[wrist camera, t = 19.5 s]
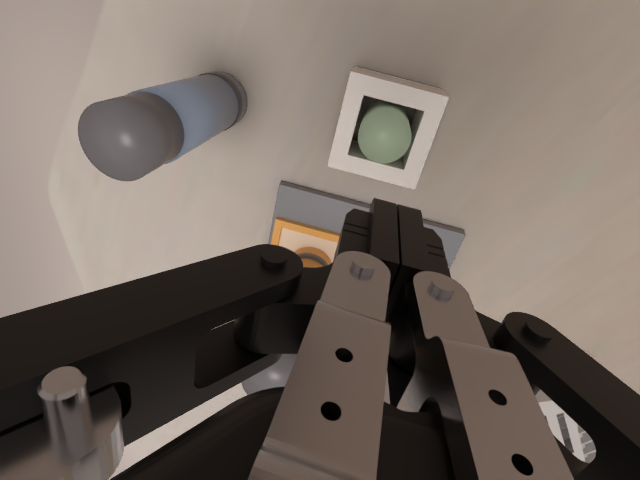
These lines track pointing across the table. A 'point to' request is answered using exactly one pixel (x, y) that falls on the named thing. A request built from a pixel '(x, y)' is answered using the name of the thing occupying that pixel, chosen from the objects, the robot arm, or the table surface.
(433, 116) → the button housing
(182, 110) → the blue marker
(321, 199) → the picture board
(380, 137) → the button
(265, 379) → the orange marker
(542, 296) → the table surface
